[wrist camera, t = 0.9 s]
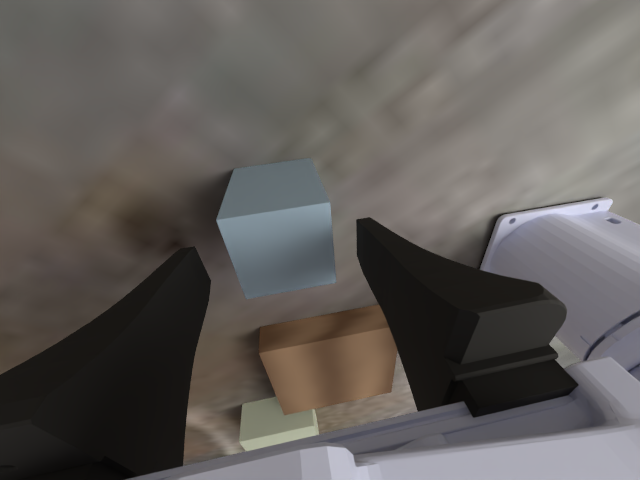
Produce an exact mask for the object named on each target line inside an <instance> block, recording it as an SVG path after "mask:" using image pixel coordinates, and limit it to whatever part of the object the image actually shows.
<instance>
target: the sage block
mask: <svg viewBox="0 0 640 480" xmlns="http://www.w3.org/2000/svg"><path fill="white" fill-rule="evenodd" d="M315 435H319V432H318V425H317V417H316V413H315V409H311V410H307V411H302V412H298V413H293V414H288V415H284V414H283V411H282V409H281V406H280V404H279V401H278V399H277V397H273V398H268V399H263V400H259V401H254V402H249V403H245V404H242V414H241V425H240V437H239V443H240V444H241V445H242V447H243V448H244V449H245V450H246V451H250V450H255V449H259V448H263V447H268V446H272V445H276V444H281V443H285V442H289V441H294V440H298V439H302V438H307V437H311V436H315Z"/></svg>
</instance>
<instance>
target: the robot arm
mask: <svg viewBox="0 0 640 480" xmlns="http://www.w3.org/2000/svg"><path fill="white" fill-rule="evenodd" d="M612 202H613V201H612V199H610V198H607V197H605V198H599V199H593V200H587V201H581V202H575V203H569V204H564V205H558V206H552V207H546V208H540V209H534V210H528V211H522V212H516V213H510V214H505V215H502V216H500V217H499V218H498V220H497V222H496V225H495V228H494V231H493V233H492V236H491V239H490V242H489V245H488V247H487V250H486V253H485V256H484V259H483V261H482V264H481V267H480V270H479V269H476V268H472V267H469V266H466V265H463V264H460V263H457V262H454V261H451V260H448V259H446V258H443V257H441V256H438V255H436V254H434V253H431V252H429V251H427V250H425V249H423V248H421V247H419V246H417V245H415V244H413V243H411V242H409V241H407V240H406V239H404V238H402V237H400V236H399V235H397V234H395V233H394V232H392V231H390V230H389V229H387V228H386V227H384V226H383V225H381V224H379V223H378V222H376V221H375V220H373V219H371V218H370V217H369V218H363V219H357V257H358V260H359V263H360V266H361V268H362V271H363V274H364V276H365V278H366V280H367V282H368V284H369V286H370V288H371V290H372V292H373V294H374V296H375V297H376V299H377V301H378V303H379V305H380V307H381V309H382V311H383V314H384V316H385V318H386V320H387V323H388V326H389V328H390V331H391V334H392V336H393V339H394V342H395V344H396V347H397V350H398V353H399V355H400V358H401V361H402V364H403V367H404V370H405V373H406V376H407V379H408V382H409V385H410V388H411V391H412V394H413V397H414V401H415V404H416V407H417V410H418V412H415V413H410V414H406V415H402V416H397V417H393V418H389V419H384V420H380V421H376V422H371V423H367V424H363V425H358V426H354V427H350V428H345V429H341V430H337V431H332V432H328V433H324V434H320V435H315V436H311V437H307V438H302V439H298V440H294V441H289V442H285V443H281V444H276V445H272V446H268V447H263V448H259V449H255V450H250V451H246V452H242V453H237V454H233V455H229V456H224V457H220V458H216V459H211V460H207V461H203V462H198V463H194V464H190V465H186V466H183V456H184V439H185V427H186V417H187V406H188V398H189V390H190V382H191V375H192V368H193V362H194V356H195V351H196V347H197V343H198V340H199V336H200V332H201V328H202V325H203V321H204V317H205V313H206V310H207V306H208V302H209V294H210V284H211V280H210V278H209V276H208V274H207V271H206V269H205V267H204V265H203V263H202V261H201V259H200V257H199V254H198V252H197V250H196V248H195V246H194V247H188V248H182V249H179V250H178V251H177V252H176V253H174V254H173V255H172V256H171V257H170V258H169V259H167V260H166V261H165V262H164V263H163V264H162V265H161V266H160V267H159V268H157V269H156V270H155V271H154V272H153V273H152V274H151V275H150V276H149V277H147V278H146V279H145V280H144V281H143V282H142V283H141V284H139V285H138V286H137V287H136V288H135V289H133V290H132V291H131V292H130V293H129V294H127V295H126V296H125V297H124V298H123V299H121V300H120V301H119V302H117V303H116V304H115V305H114V306H112V307H111V308H110V309H108V310H107V311H105V312H104V313H103V314H101V315H100V316H98V317H97V318H96V319H94V320H93V321H91V322H90V323H88V324H87V325H85V326H83V327H82V328H80V329H79V330H77V331H76V332H74V333H73V334H71V335H69V336H68V337H66V338H65V339H63V340H62V341H60V342H58V343H57V344H55V345H53V346H52V347H50V348H48V349H46V350H45V351H43V352H41V353H40V354H38V355H36V356H34V357H32V358H31V359H29V360H27V361H25V362H23V363H22V364H20V365H18V366H16V367H14V368H12V369H10V370H9V371H7V372H5V373H3V374H1V375H0V480H640V225H639V224H637V223H635V222H633V221H630V220H628V219H626V218H623V217H621V216H619V215H616V214H614V213H612V212H610V211H608V209H609V208H610V206H611V205H612ZM554 336H556V337H557V338H558V339H559V340H560V341H561V342H562V343H563V344H564V345H565V346H566V347H567V348H568V349H569V350H570V351H571V352H572V353H573V354H574V355H575V356H576V357H578V358H579V359H580V360H581V361H582V362H578V363H575V364H572V365H570V366H568V367H566V368H565V369H563V368H562V367H561V366H560V365H559V364H558V363H557V362H556V361H555V359H557V358H558V353H557V352H556V351H555V350H554V349H553V348H552V347H551V346H550V345H549V343H550V342H551V340H552V339H553V337H554Z"/></svg>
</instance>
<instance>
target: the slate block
mask: <svg viewBox="0 0 640 480" xmlns="http://www.w3.org/2000/svg"><path fill="white" fill-rule="evenodd" d="M216 221H217V224H218V226H219V229H220V232H221V234H222V237H223V240H224V242H225V245H226V248H227V250H228V253H229V255H230V258H231V261H232V263H233V266H234V269H235V271H236V274H237V277H238V279H239V282H240V284H241V287H242V290H243V292H244V295H245V298H246V299H250V298H255V297H261V296H266V295H272V294H277V293H283V292H288V291H294V290H299V289H305V288H310V287H316V286H321V285H327V284H332V283H336V273H335V260H334V247H333V234H332V221H331V208H330V201H329V199H328V196H327V194H326V192H325V189H324V187H323V185H322V182H321V180H320V178H319V175H318V173H317V171H316V169H315V166H314V164H313V162H312V159H311V158H306V159H299V160H292V161H285V162H278V163H271V164H264V165H257V166H250V167H243V168H236V169H234V170H233V173H232V176H231V179H230V182H229V185H228V187H227V190H226V193H225V196H224V199H223V202H222V205H221V208H220V210H219V213H218V216H217V219H216Z"/></svg>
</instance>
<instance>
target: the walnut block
mask: <svg viewBox="0 0 640 480" xmlns="http://www.w3.org/2000/svg"><path fill="white" fill-rule="evenodd" d="M259 355H260V357H261V360H262V362H263V365H264V367H265V370H266V372H267V375H268V377H269V379H270V382H271V384H272V387H273V389H274V392H275V394H276V396H277V399H278V401H279V404H280V406H281V409H282V411H283V414H284V415H288V414H293V413H298V412H302V411H307V410H311V409H316V408H320V407H325V406H330V405H334V404H339V403H343V402H348V401H353V400H357V399H362V398H366V397H371V396H375V395H380V394H385V393H389V392H391V390H392V383H393V376H394V369H395V362H396V355H397V347H396V344H395V342H394V339H393V336H392V334H391V331H390V328H389V326H388V323H387V320H386V318H385V316H384V314H383V311H382V309H381V307H380V305H374V306H368V307H363V308H358V309H352V310H347V311H342V312H337V313H331V314H326V315H321V316H316V317H310V318H305V319H300V320H295V321H289V322H284V323H279V324H273V325H268V326H263V327H260V335H259Z"/></svg>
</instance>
